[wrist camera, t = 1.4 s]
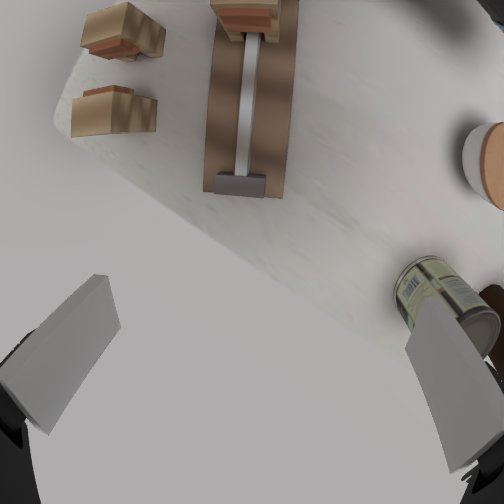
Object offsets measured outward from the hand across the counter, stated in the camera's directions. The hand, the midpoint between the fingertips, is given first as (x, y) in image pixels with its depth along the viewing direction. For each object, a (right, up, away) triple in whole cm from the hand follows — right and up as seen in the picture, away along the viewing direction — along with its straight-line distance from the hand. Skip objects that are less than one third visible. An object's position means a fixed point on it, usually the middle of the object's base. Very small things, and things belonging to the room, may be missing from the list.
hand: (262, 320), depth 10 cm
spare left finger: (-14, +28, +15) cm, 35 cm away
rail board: (0, +21, +16) cm, 27 cm away
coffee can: (+25, -3, +24) cm, 35 cm away
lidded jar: (+30, +15, +16) cm, 37 cm away
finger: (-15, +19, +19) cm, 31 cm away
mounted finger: (0, +27, +12) cm, 30 cm away
